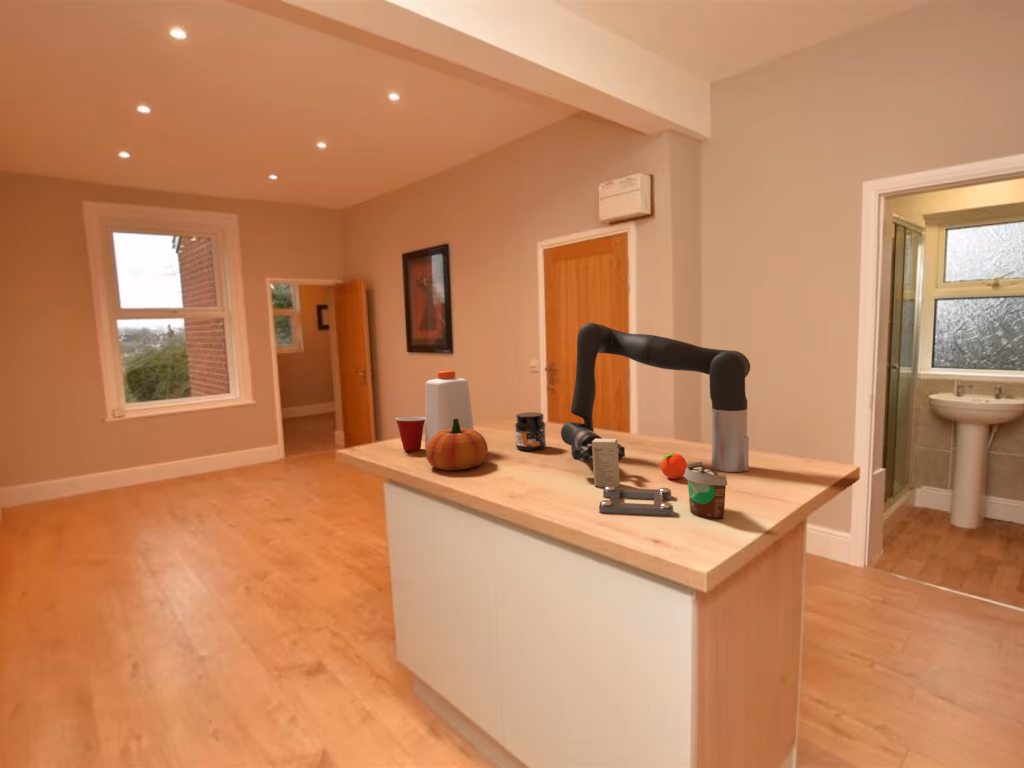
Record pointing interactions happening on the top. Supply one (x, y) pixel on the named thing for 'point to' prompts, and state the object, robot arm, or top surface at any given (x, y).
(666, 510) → the grey rectangular frame
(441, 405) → the plastic bottle
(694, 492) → the food container
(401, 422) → the plastic cup
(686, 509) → the top surface
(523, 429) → the supplement container
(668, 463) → the clementine
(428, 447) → the pumpkin
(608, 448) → the skincare box
